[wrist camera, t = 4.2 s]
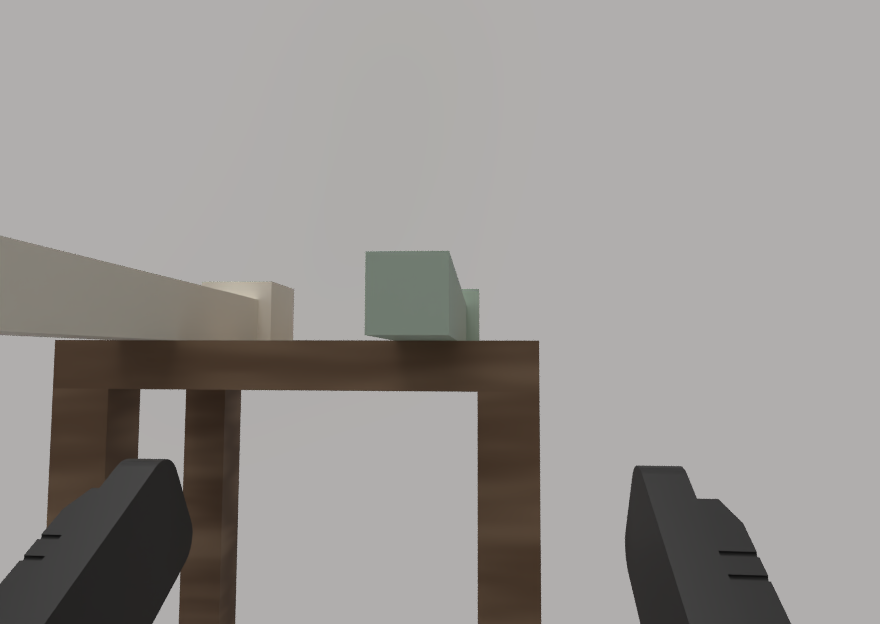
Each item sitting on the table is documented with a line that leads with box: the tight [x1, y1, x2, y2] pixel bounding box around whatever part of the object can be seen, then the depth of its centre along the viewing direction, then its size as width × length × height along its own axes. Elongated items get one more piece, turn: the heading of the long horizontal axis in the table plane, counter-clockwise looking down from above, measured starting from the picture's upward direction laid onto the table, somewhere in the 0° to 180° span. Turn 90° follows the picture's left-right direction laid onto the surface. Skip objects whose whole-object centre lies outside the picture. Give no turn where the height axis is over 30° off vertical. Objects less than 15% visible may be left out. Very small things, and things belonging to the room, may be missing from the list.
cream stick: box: [0, 236, 294, 340], centre depth 27 cm, size 24×4×4 cm, turn 176°
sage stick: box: [365, 251, 479, 341], centre depth 31 cm, size 24×4×4 cm, turn 176°
